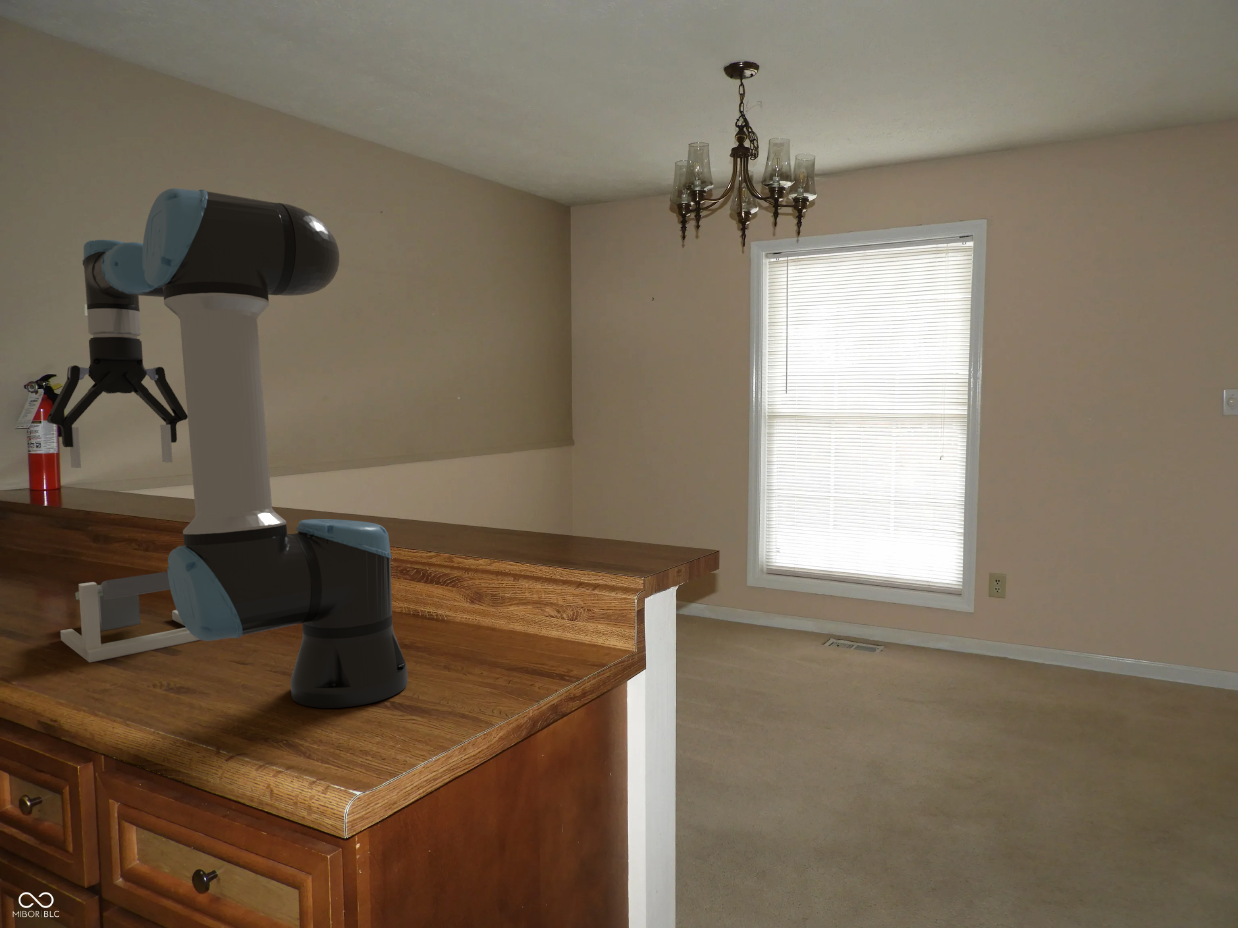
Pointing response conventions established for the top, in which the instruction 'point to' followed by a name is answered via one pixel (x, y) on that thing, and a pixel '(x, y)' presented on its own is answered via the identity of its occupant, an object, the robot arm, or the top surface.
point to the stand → (96, 651)
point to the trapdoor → (132, 586)
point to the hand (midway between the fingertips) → (123, 465)
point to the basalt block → (118, 612)
